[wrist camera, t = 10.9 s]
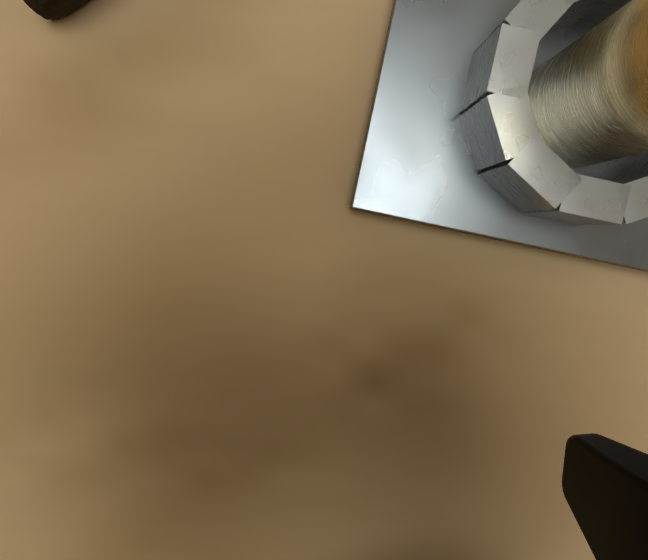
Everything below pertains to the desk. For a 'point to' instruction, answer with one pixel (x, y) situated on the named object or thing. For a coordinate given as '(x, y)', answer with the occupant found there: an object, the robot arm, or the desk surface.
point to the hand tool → (54, 7)
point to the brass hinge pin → (597, 91)
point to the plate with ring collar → (492, 133)
